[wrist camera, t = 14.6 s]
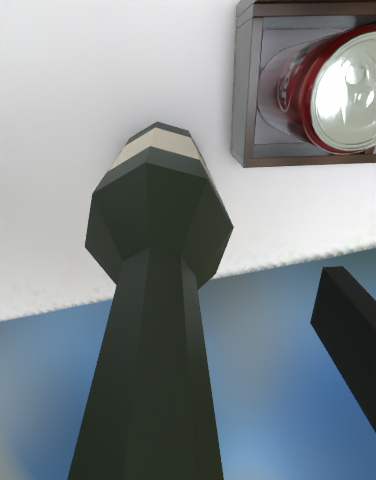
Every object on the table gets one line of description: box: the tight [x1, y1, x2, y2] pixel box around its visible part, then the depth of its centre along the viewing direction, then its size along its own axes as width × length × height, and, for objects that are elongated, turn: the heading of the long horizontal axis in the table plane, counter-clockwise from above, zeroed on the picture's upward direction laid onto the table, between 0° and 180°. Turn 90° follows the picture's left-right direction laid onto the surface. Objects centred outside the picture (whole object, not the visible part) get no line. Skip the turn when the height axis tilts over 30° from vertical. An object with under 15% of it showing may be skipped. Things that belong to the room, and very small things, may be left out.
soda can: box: [257, 25, 376, 154], centre depth 23 cm, size 7×7×12 cm
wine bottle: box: [68, 122, 234, 480], centre depth 18 cm, size 8×8×30 cm
